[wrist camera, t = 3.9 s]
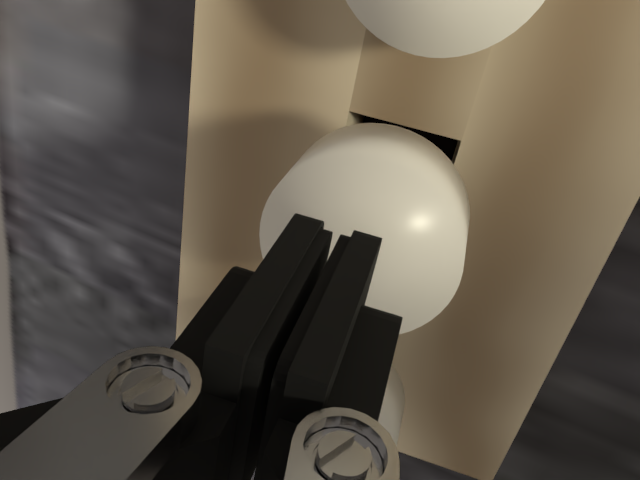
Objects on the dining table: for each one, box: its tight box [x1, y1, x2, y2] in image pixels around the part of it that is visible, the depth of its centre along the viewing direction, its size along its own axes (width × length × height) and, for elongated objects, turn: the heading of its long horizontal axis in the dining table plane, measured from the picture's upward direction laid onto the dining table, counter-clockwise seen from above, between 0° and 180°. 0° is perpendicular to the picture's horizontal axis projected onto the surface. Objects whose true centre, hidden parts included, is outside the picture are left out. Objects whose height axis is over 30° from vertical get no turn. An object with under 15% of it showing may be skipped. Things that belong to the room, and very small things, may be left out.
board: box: [176, 0, 640, 480], centre depth 16 cm, size 12×26×3 cm, turn 170°
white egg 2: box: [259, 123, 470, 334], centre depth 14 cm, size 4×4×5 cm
